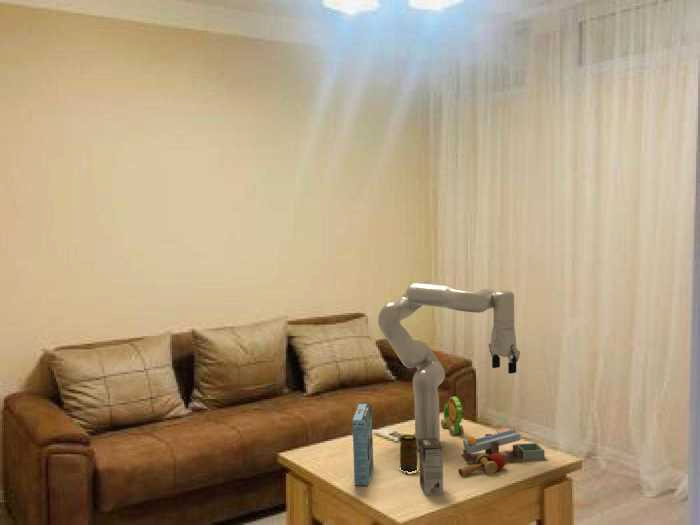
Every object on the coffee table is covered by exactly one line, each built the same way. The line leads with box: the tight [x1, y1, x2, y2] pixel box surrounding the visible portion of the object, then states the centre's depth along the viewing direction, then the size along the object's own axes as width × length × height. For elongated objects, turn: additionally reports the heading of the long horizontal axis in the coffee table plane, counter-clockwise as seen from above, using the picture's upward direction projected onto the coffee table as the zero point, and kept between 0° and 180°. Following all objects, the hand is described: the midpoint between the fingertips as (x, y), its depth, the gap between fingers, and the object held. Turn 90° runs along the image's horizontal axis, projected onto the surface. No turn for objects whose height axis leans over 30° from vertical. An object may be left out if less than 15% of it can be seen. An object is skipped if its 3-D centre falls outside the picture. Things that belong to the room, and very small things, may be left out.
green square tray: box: [515, 442, 545, 462], centre depth 260 cm, size 8×8×4 cm
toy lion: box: [440, 396, 465, 436], centre depth 289 cm, size 16×5×15 cm, turn 13°
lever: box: [462, 427, 522, 454], centre depth 261 cm, size 20×12×4 cm, turn 95°
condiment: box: [399, 434, 420, 476], centre depth 250 cm, size 7×8×12 cm
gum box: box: [351, 403, 374, 486], centre depth 245 cm, size 20×5×23 cm, turn 172°
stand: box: [461, 433, 525, 466], centre depth 259 cm, size 21×9×8 cm, turn 95°
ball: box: [466, 436, 477, 446], centre depth 258 cm, size 4×4×4 cm
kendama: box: [457, 453, 506, 478], centre depth 246 cm, size 8×6×18 cm
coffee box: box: [418, 438, 444, 496], centre depth 232 cm, size 9×6×16 cm
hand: (504, 370), depth 258 cm, fingers open, 9 cm apart
